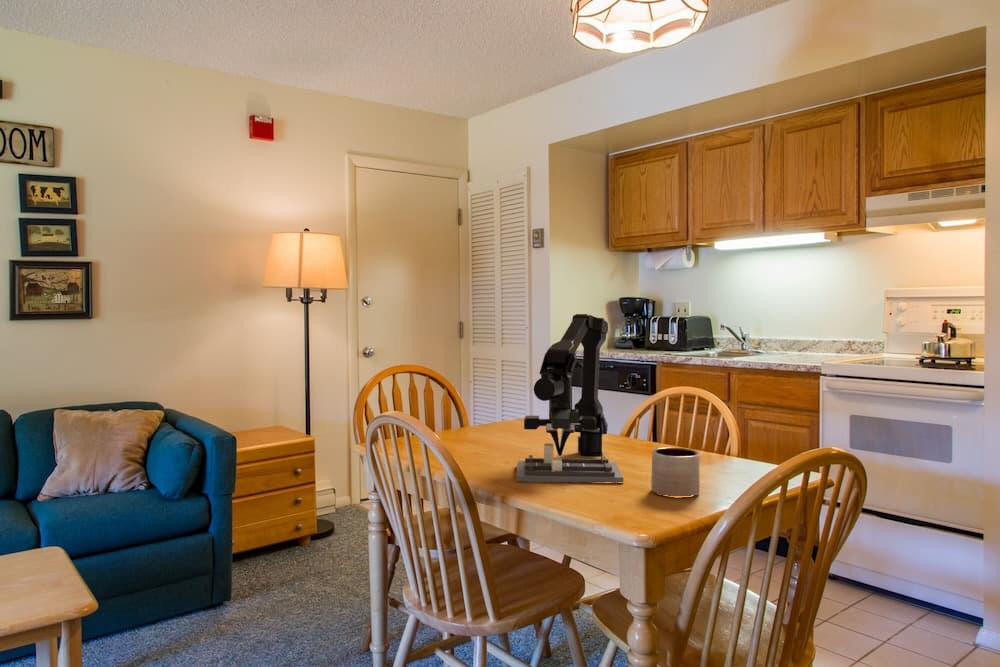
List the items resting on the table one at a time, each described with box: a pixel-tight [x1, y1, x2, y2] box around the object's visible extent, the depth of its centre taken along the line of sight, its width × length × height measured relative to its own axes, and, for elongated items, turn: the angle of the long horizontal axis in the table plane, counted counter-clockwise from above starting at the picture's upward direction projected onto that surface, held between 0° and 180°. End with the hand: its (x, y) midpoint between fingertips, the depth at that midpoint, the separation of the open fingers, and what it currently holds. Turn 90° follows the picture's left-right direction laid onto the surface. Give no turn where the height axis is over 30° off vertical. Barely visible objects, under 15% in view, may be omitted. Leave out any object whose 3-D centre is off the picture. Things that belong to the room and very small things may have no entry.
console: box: [516, 454, 624, 484], centre depth 174 cm, size 26×16×4 cm, turn 87°
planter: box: [650, 446, 701, 496], centre depth 157 cm, size 11×11×10 cm
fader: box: [543, 442, 554, 463], centre depth 178 cm, size 2×4×5 cm, turn 177°
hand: (559, 455), depth 178 cm, fingers closed
